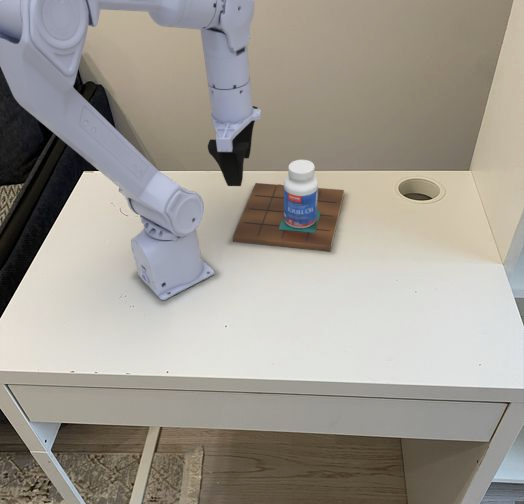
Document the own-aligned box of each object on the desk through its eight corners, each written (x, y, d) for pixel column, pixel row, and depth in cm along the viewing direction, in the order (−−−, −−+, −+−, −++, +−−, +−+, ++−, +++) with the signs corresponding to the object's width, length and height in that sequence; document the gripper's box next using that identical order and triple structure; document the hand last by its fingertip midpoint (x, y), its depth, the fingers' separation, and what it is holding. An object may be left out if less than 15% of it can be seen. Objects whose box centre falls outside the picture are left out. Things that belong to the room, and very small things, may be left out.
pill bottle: (284, 230, 89) (283, 176, 81) (283, 211, 92) (281, 157, 85) (318, 228, 88) (320, 174, 81) (315, 209, 92) (317, 155, 85)
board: (330, 251, 86) (330, 246, 85) (233, 241, 89) (232, 236, 88) (343, 194, 96) (344, 189, 95) (255, 187, 99) (255, 182, 98)
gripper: (249, 106, 68) (257, 198, 79) (265, 57, 78) (270, 146, 88) (195, 106, 69) (210, 197, 80) (216, 57, 79) (227, 145, 89)
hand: (238, 170), depth 84 cm, fingers open, 7 cm apart
